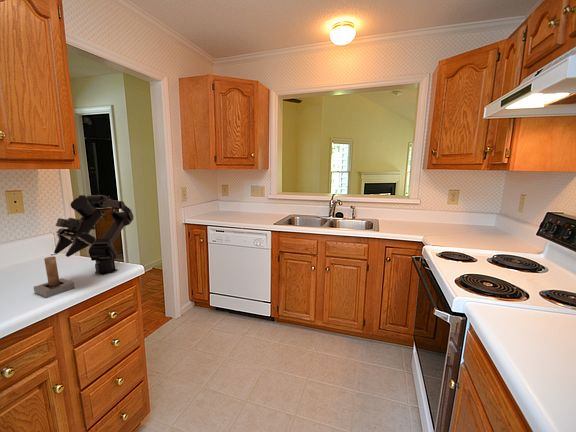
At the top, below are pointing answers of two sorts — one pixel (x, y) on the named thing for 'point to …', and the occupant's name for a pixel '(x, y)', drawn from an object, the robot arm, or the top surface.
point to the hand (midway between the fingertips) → (60, 254)
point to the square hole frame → (54, 288)
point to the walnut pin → (52, 271)
